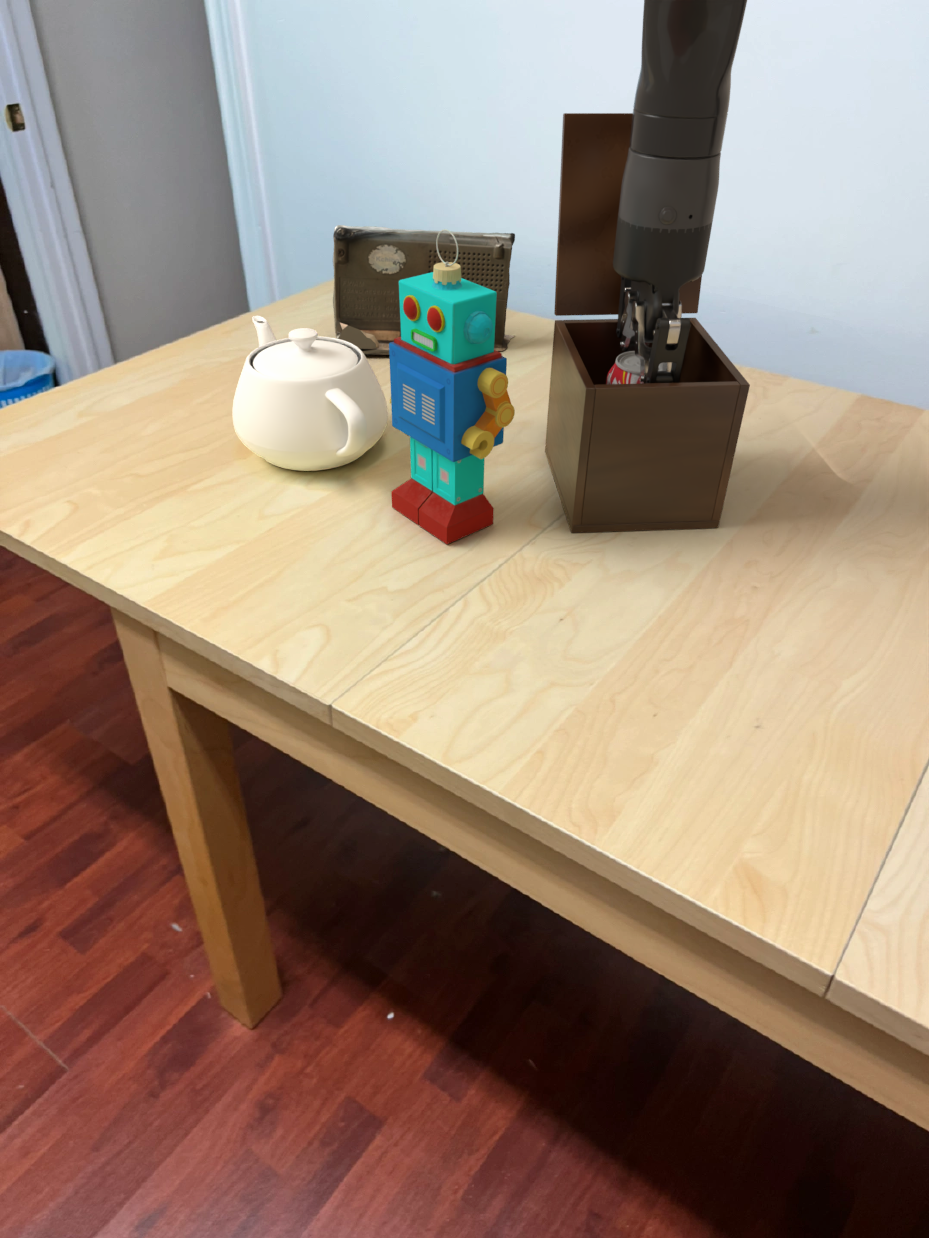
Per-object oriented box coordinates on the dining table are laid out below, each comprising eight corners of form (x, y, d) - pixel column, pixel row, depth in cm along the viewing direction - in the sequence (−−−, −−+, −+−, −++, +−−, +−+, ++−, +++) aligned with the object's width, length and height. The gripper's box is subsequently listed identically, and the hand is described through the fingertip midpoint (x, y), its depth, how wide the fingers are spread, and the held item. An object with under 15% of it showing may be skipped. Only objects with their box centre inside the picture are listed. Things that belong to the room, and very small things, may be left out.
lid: (721, 113, 77) (717, 113, 77) (564, 113, 76) (562, 113, 76) (697, 313, 85) (695, 312, 85) (555, 316, 84) (554, 314, 84)
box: (718, 528, 82) (750, 384, 73) (571, 533, 81) (586, 388, 72) (673, 448, 94) (695, 317, 85) (544, 451, 93) (554, 320, 84)
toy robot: (381, 500, 85) (367, 220, 69) (431, 480, 88) (428, 208, 72) (459, 553, 78) (462, 255, 62) (510, 530, 81) (526, 240, 65)
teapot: (435, 476, 88) (434, 356, 81) (288, 518, 82) (272, 392, 74) (328, 385, 105) (319, 279, 97) (199, 414, 99) (179, 303, 91)
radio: (515, 335, 118) (521, 216, 109) (518, 361, 112) (524, 235, 102) (339, 333, 118) (330, 213, 109) (331, 358, 112) (321, 232, 102)
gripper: (740, 237, 66) (701, 442, 77) (686, 190, 78) (658, 374, 88) (641, 238, 66) (614, 444, 76) (601, 191, 77) (583, 376, 87)
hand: (638, 406), depth 82 cm, fingers closed on beverage can, 6 cm apart
